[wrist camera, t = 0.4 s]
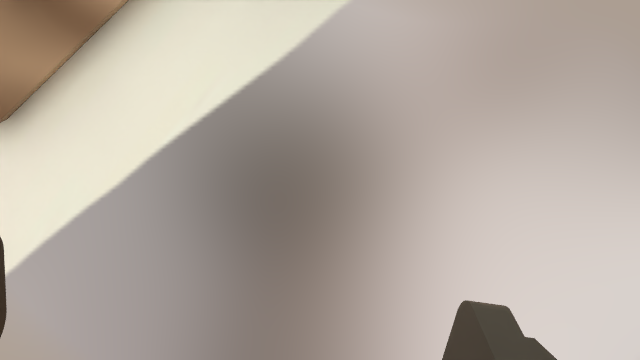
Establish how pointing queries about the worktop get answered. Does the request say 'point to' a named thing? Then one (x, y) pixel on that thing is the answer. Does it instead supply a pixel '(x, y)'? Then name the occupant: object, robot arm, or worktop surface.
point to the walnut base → (42, 41)
